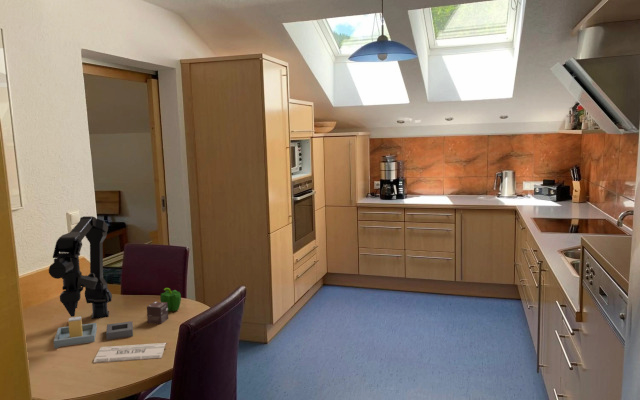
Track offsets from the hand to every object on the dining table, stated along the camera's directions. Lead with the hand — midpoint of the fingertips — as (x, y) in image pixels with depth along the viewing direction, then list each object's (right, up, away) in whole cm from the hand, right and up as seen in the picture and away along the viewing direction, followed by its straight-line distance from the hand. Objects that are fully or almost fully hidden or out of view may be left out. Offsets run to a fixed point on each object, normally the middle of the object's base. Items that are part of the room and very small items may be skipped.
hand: (74, 312), depth 182 cm
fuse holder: (+15, -10, +5) cm, 18 cm away
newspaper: (+25, -12, -10) cm, 30 cm away
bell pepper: (+26, -6, +31) cm, 41 cm away
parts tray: (0, -10, +2) cm, 10 cm away
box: (+25, -8, +17) cm, 32 cm away
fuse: (0, -9, +1) cm, 9 cm away
